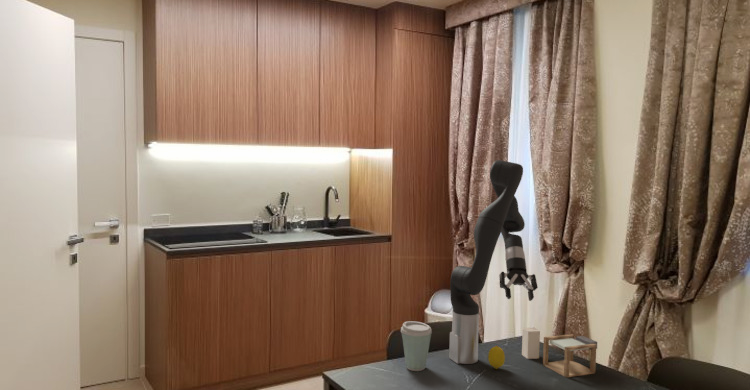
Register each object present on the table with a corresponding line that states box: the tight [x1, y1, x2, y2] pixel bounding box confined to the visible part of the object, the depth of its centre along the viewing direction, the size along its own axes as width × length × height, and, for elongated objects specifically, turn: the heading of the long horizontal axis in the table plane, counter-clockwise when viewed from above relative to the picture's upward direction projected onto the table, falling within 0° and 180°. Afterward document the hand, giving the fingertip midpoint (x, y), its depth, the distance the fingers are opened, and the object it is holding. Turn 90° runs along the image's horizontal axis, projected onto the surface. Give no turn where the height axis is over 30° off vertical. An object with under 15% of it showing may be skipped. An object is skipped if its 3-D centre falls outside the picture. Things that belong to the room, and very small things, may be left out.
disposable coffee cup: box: [400, 320, 433, 372], centre depth 181 cm, size 11×11×15 cm
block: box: [521, 327, 541, 360], centre depth 195 cm, size 4×4×10 cm
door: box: [549, 335, 598, 352], centre depth 184 cm, size 13×9×2 cm
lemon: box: [487, 345, 506, 370], centre depth 182 cm, size 6×6×8 cm
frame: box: [542, 333, 597, 378], centre depth 183 cm, size 12×12×10 cm
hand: (520, 299), depth 204 cm, fingers open, 8 cm apart
